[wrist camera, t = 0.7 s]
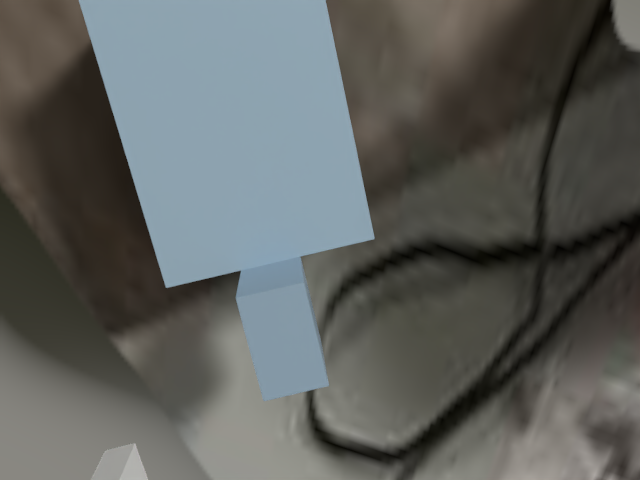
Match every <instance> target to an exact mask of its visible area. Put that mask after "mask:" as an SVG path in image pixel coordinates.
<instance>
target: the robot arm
mask: <svg viewBox="0 0 640 480" xmlns="http://www.w3.org/2000/svg"><path fill="white" fill-rule="evenodd" d="M91 480H148V478H147V475H146V472H145V469H144V467H143V464H142V461H141V458H140V455H139V453H138V450H137V447H136V444H135V443H132V444H129V445H124V446H120V447H117V448H113V449H109V450H106V451H105V452H104V454H103V456H102V458H101V460H100V462H99V464H98V466H97V468H96V470H95V472H94V474H93V476H92V478H91Z"/></svg>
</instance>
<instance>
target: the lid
mask: <svg viewBox="0 0 640 480" xmlns="http://www.w3.org/2000/svg"><path fill="white" fill-rule="evenodd" d="M79 2H80V6H81V9H82V12H83V16H84V19H85V22H86V26H87V29H88V32H89V35H90V39H91V42H92V45H93V49H94V52H95V55H96V59H97V62H98V65H99V68H100V72H101V75H102V78H103V82H104V85H105V88H106V92H107V95H108V98H109V101H110V105H111V108H112V111H113V115H114V118H115V121H116V125H117V128H118V131H119V134H120V138H121V141H122V144H123V148H124V151H125V154H126V158H127V161H128V164H129V167H130V171H131V174H132V177H133V181H134V184H135V187H136V191H137V194H138V197H139V201H140V204H141V207H142V210H143V214H144V217H145V220H146V224H147V227H148V230H149V234H150V237H151V240H152V243H153V247H154V250H155V253H156V257H157V260H158V263H159V267H160V270H161V273H162V276H163V280H164V283H165V286H166V288H168V287H173V286H177V285H181V284H185V283H190V282H194V281H198V280H202V279H207V278H211V277H215V276H220V275H224V274H228V273H232V272H237V271H241V274H240V279H239V284H238V289H237V294H236V302H237V305H238V309H239V313H240V316H241V320H242V324H243V327H244V331H245V335H246V338H247V342H248V346H249V349H250V353H251V357H252V360H253V364H254V367H255V371H256V375H257V378H258V382H259V386H260V389H261V393H262V397H263V400H264V401H267V400H271V399H276V398H280V397H284V396H288V395H292V394H297V393H301V392H305V391H309V390H313V389H318V388H322V387H326V386H329V383H328V377H327V372H326V366H325V361H324V355H323V350H322V344H321V339H320V335H319V331H318V327H317V323H316V318H315V314H314V310H313V306H312V302H311V298H310V293H309V289H308V285H307V281H306V277H305V273H304V269H303V264H302V260H301V256H305V255H309V254H313V253H317V252H322V251H326V250H330V249H335V248H339V247H343V246H347V245H352V244H356V243H360V242H364V241H369V240H373V239H375V237H374V233H373V228H372V223H371V218H370V213H369V208H368V204H367V199H366V194H365V189H364V184H363V179H362V175H361V170H360V165H359V160H358V155H357V150H356V146H355V141H354V136H353V131H352V126H351V121H350V117H349V112H348V107H347V102H346V97H345V92H344V88H343V83H342V78H341V73H340V68H339V63H338V59H337V54H336V49H335V44H334V39H333V34H332V30H331V25H330V20H329V15H328V10H327V5H326V0H79Z"/></svg>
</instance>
